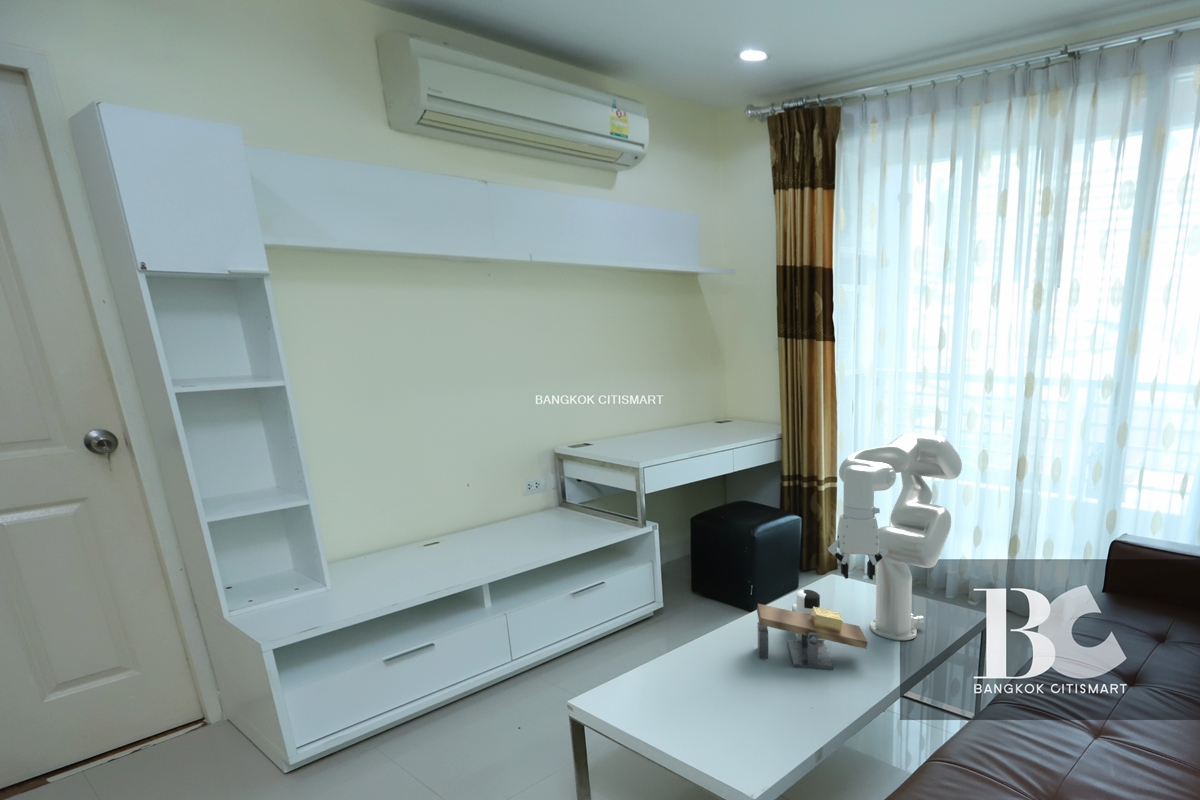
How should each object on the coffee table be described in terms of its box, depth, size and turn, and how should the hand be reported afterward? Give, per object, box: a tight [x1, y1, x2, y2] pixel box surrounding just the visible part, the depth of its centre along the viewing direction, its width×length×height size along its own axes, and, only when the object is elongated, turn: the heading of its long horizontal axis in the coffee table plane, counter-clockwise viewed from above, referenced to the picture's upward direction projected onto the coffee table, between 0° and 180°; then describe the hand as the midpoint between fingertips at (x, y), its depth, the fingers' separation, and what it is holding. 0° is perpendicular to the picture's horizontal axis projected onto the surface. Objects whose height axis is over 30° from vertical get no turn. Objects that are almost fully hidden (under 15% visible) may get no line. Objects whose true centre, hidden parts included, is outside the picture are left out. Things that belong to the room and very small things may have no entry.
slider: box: [811, 607, 844, 632], centre depth 164 cm, size 7×5×4 cm
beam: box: [756, 603, 869, 650], centre depth 165 cm, size 28×9×2 cm, turn 79°
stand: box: [757, 614, 834, 671], centre depth 166 cm, size 19×14×10 cm
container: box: [791, 589, 825, 641], centre depth 177 cm, size 8×8×13 cm
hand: (857, 576), depth 161 cm, fingers open, 5 cm apart
